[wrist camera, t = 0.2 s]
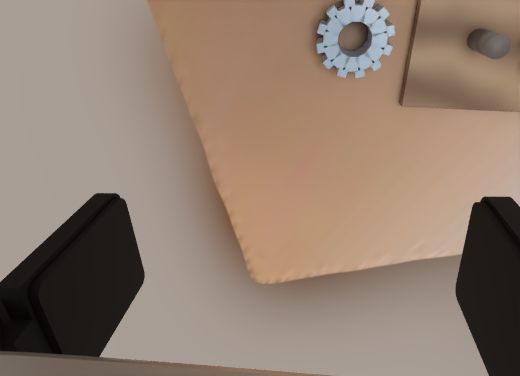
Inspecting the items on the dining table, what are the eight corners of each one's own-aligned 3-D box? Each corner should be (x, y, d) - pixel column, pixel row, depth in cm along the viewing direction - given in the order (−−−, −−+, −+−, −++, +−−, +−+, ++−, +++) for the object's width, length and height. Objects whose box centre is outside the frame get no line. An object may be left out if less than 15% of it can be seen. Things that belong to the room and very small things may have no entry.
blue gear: (320, -5, 39) (319, -3, 36) (394, -4, 39) (400, -2, 35) (314, 68, 43) (314, 76, 39) (382, 71, 42) (387, 79, 39)
